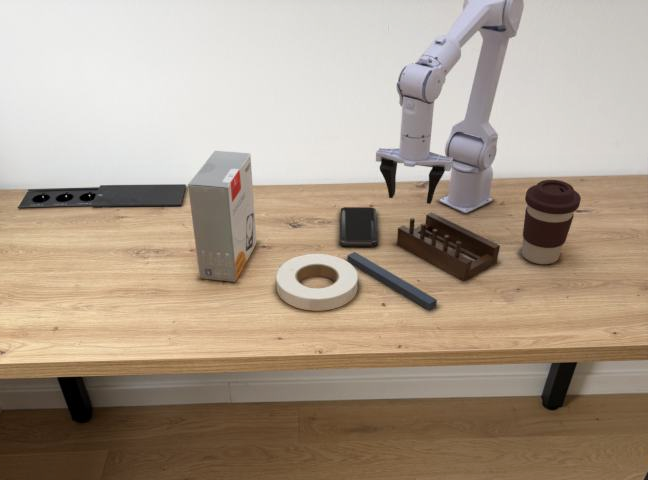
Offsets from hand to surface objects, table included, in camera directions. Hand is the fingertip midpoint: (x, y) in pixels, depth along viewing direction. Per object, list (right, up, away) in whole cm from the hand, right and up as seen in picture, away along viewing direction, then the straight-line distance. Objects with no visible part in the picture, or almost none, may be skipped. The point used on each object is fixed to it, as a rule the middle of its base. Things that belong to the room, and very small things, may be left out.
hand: (410, 198), depth 136 cm
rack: (+8, -11, +3) cm, 13 cm away
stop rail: (-5, -17, -5) cm, 19 cm away
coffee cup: (+26, -11, +2) cm, 29 cm away
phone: (-10, -4, +11) cm, 15 cm away
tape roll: (-19, -18, -6) cm, 27 cm away
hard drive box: (-36, -12, +2) cm, 38 cm away
